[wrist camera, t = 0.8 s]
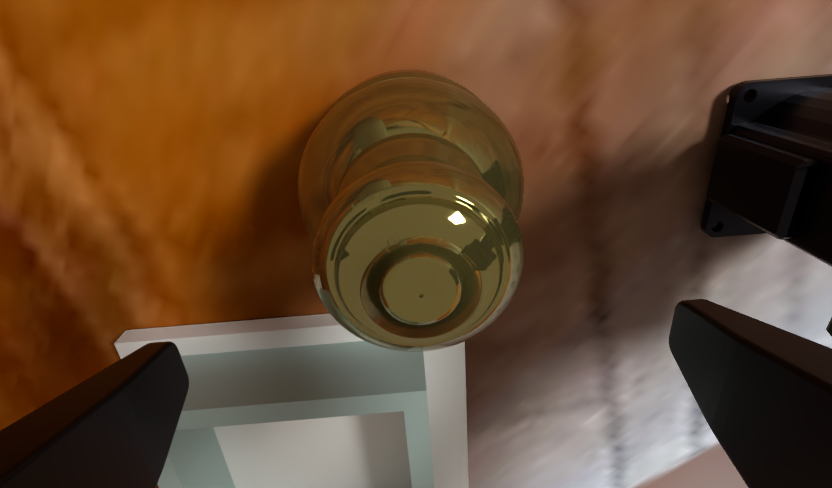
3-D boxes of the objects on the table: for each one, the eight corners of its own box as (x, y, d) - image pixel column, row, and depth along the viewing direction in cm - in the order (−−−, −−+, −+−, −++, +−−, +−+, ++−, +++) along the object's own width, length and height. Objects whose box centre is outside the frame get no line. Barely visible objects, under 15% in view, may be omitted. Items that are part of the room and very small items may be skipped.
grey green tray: (461, 302, 22) (476, 366, 18) (466, 493, 28) (479, 574, 24) (125, 330, 21) (63, 401, 17) (206, 516, 28) (173, 600, 24)
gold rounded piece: (294, 85, 17) (182, 153, 8) (489, 50, 17) (600, 80, 8) (340, 256, 20) (297, 440, 11) (504, 228, 20) (594, 395, 11)
